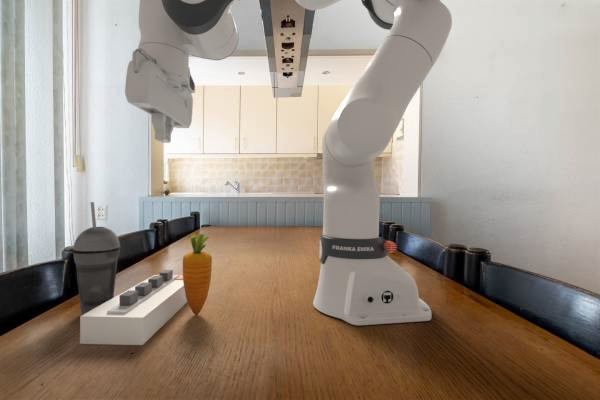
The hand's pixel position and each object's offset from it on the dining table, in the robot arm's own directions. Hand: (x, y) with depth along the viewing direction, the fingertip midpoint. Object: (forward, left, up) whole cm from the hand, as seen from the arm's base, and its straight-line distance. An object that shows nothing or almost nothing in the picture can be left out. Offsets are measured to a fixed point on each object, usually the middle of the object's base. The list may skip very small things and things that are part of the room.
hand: (163, 141), depth 58 cm
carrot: (-9, +4, -32) cm, 33 cm away
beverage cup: (+9, +4, -32) cm, 34 cm away
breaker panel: (0, +4, -32) cm, 32 cm away
